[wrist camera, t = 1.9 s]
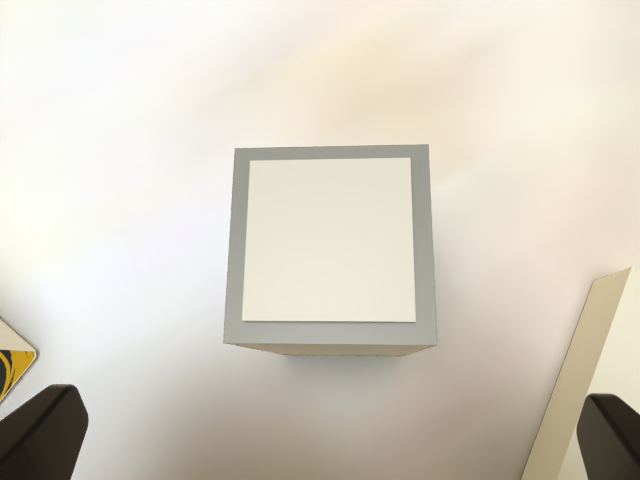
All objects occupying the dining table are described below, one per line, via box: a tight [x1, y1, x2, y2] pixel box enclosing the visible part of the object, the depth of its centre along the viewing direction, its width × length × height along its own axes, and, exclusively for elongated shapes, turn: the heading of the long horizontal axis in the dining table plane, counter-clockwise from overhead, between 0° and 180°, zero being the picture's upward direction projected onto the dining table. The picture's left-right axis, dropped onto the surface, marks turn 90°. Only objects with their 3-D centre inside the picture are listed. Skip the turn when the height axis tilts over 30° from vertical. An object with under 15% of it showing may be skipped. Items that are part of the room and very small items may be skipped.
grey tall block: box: [223, 144, 437, 356], centre depth 15 cm, size 4×4×9 cm
